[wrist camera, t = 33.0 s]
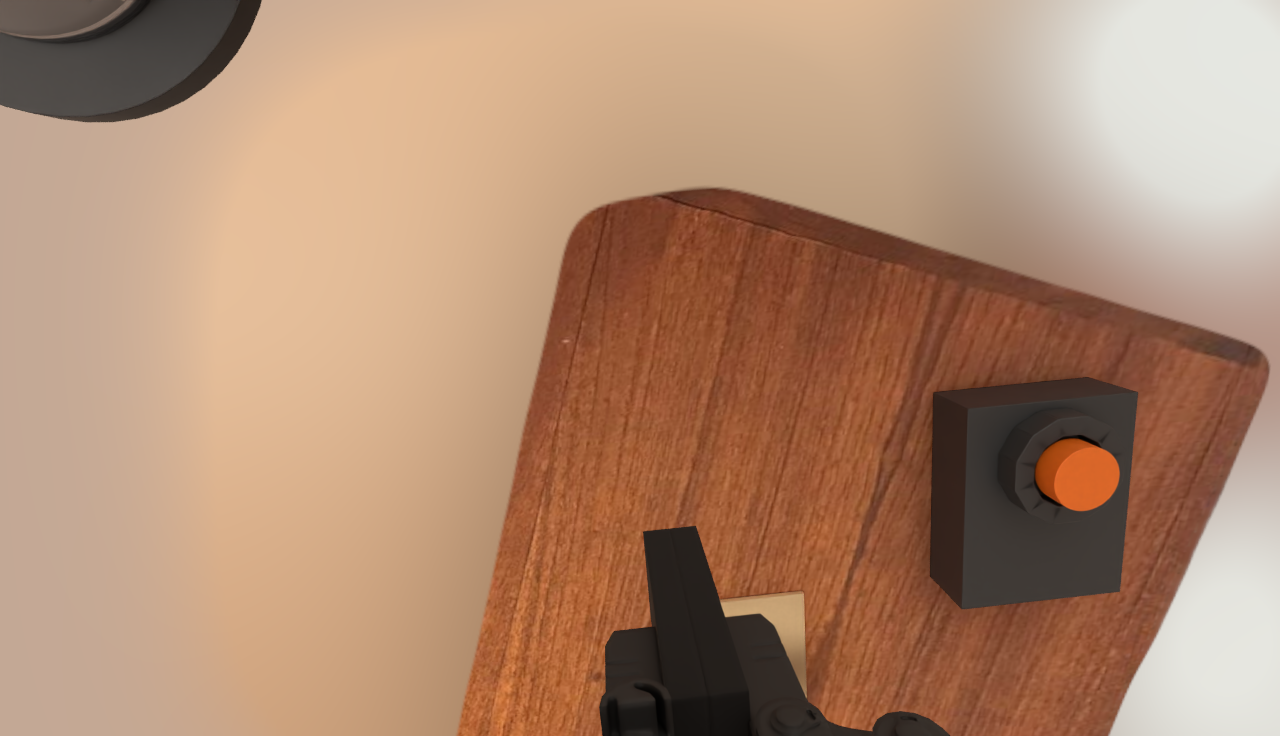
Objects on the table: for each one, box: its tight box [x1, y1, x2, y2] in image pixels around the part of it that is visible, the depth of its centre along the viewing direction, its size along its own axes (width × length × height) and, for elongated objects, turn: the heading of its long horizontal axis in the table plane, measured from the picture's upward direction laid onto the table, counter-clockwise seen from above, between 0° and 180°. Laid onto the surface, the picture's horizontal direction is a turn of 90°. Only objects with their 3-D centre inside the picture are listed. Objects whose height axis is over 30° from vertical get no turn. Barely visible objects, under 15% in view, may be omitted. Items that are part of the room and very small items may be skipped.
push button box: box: [930, 377, 1138, 609], centre depth 42 cm, size 14×11×6 cm
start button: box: [1035, 438, 1120, 511], centre depth 38 cm, size 4×4×2 cm
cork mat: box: [720, 591, 807, 698], centre depth 47 cm, size 10×10×1 cm
